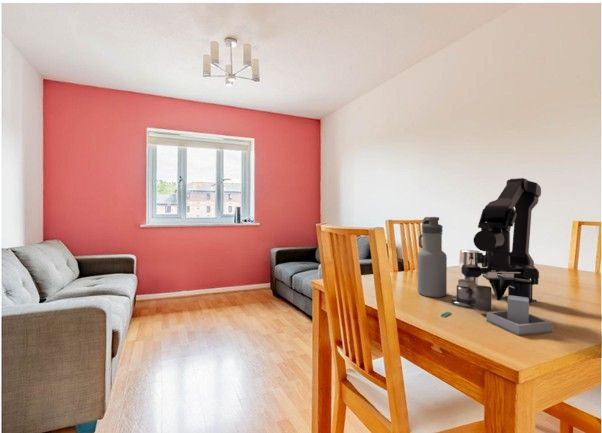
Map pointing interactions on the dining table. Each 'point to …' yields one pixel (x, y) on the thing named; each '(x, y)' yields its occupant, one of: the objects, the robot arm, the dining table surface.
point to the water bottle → (432, 260)
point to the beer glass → (468, 262)
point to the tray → (533, 327)
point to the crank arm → (479, 293)
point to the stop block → (518, 309)
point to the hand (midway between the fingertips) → (498, 300)
